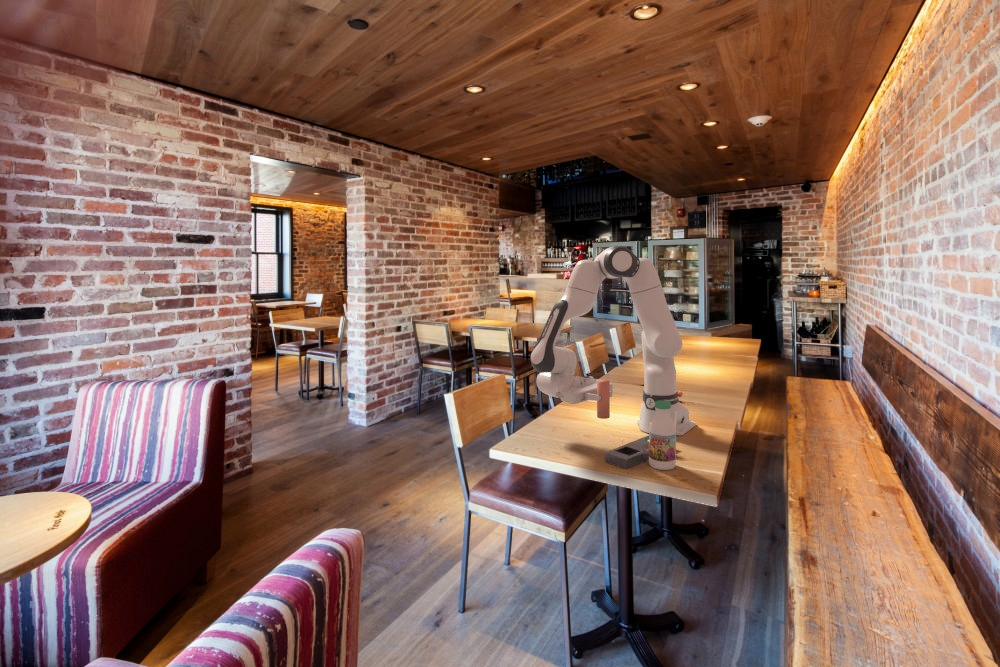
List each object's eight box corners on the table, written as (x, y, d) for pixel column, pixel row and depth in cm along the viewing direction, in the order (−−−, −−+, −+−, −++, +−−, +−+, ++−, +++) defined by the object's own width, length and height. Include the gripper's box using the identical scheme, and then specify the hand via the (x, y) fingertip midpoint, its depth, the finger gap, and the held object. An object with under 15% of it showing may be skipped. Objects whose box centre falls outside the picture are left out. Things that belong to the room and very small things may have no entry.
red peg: (602, 414, 163) (602, 378, 161) (612, 416, 160) (612, 380, 158) (594, 416, 160) (594, 381, 159) (604, 419, 157) (604, 383, 156)
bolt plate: (652, 442, 169) (652, 416, 167) (673, 448, 162) (673, 422, 161) (605, 461, 153) (605, 433, 152) (626, 469, 147) (626, 440, 146)
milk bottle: (648, 459, 154) (649, 397, 151) (674, 461, 152) (675, 399, 149) (648, 469, 146) (649, 404, 144) (676, 472, 144) (677, 406, 142)
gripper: (552, 385, 162) (583, 392, 152) (593, 375, 175) (625, 381, 164) (552, 403, 163) (583, 412, 152) (593, 392, 176) (625, 399, 165)
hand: (605, 396), depth 158 cm, fingers closed on red peg, 4 cm apart
